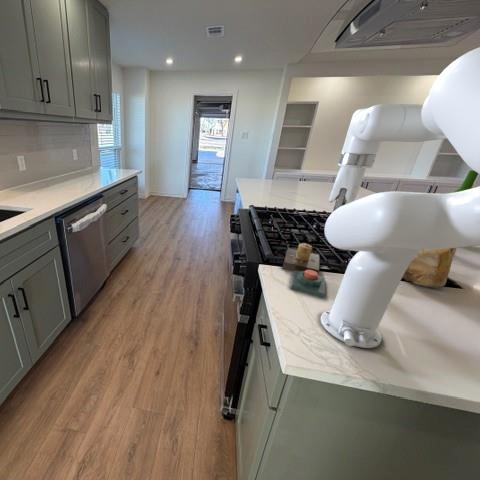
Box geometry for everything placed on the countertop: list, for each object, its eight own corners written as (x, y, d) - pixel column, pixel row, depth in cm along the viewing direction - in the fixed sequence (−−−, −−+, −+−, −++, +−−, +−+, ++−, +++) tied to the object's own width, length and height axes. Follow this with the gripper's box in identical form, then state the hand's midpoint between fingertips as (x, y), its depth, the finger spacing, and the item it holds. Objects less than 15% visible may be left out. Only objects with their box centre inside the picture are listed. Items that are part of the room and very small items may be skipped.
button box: (323, 298, 76) (326, 288, 74) (290, 289, 80) (293, 279, 79) (323, 281, 85) (326, 272, 83) (293, 274, 89) (296, 265, 87)
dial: (293, 257, 94) (297, 244, 91) (298, 254, 96) (301, 241, 94) (306, 262, 91) (310, 248, 89) (310, 258, 93) (314, 245, 91)
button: (316, 281, 79) (317, 276, 78) (303, 278, 80) (304, 273, 80) (316, 276, 82) (318, 271, 81) (304, 273, 83) (305, 268, 83)
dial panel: (316, 277, 87) (319, 270, 85) (281, 269, 92) (283, 261, 90) (317, 261, 98) (319, 254, 97) (286, 254, 103) (288, 247, 102)
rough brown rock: (388, 257, 104) (399, 223, 99) (447, 271, 92) (463, 232, 87) (374, 278, 91) (385, 239, 85) (441, 296, 79) (459, 253, 73)
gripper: (345, 158, 74) (327, 217, 81) (332, 161, 64) (313, 228, 71) (377, 160, 69) (355, 223, 77) (369, 164, 59) (344, 236, 67)
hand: (335, 225), depth 74 cm, fingers closed
